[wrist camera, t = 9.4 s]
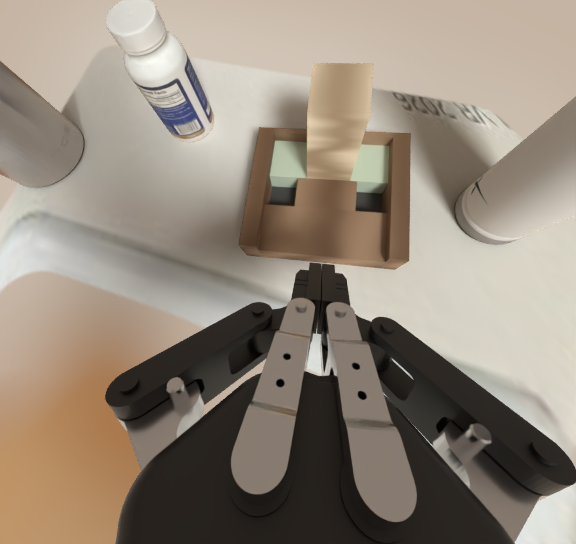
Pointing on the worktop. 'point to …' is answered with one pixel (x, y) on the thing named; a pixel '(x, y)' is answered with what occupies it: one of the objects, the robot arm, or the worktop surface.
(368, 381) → the robot arm
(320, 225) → the box
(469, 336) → the worktop surface
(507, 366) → the worktop surface
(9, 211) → the worktop surface
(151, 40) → the pill bottle
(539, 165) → the travel mug
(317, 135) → the birch block
